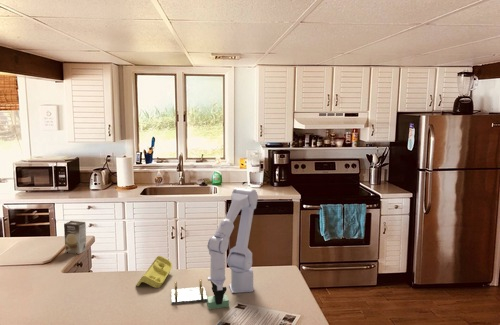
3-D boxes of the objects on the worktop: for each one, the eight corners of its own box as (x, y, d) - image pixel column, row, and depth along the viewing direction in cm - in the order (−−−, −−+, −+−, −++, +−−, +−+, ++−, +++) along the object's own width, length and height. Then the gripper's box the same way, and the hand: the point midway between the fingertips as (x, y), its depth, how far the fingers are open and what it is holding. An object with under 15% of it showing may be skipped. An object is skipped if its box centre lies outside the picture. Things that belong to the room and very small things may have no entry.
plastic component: (161, 284, 161) (140, 274, 161) (154, 297, 163) (134, 287, 163) (174, 263, 180) (156, 253, 180) (168, 275, 182) (150, 266, 182)
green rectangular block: (226, 301, 152) (226, 294, 152) (228, 307, 148) (228, 300, 147) (206, 303, 150) (206, 296, 150) (208, 309, 146) (208, 302, 145)
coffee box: (64, 252, 201) (63, 223, 199) (72, 248, 208) (70, 220, 206) (79, 254, 200) (78, 225, 198) (87, 249, 206) (85, 221, 204)
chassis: (204, 288, 162) (204, 277, 162) (206, 301, 152) (206, 289, 151) (171, 291, 159) (171, 280, 159) (171, 304, 149) (171, 292, 148)
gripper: (205, 260, 153) (205, 291, 155) (209, 275, 139) (209, 309, 141) (223, 259, 155) (222, 290, 156) (228, 273, 140) (227, 307, 142)
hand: (217, 299), depth 149 cm, fingers open, 7 cm apart
